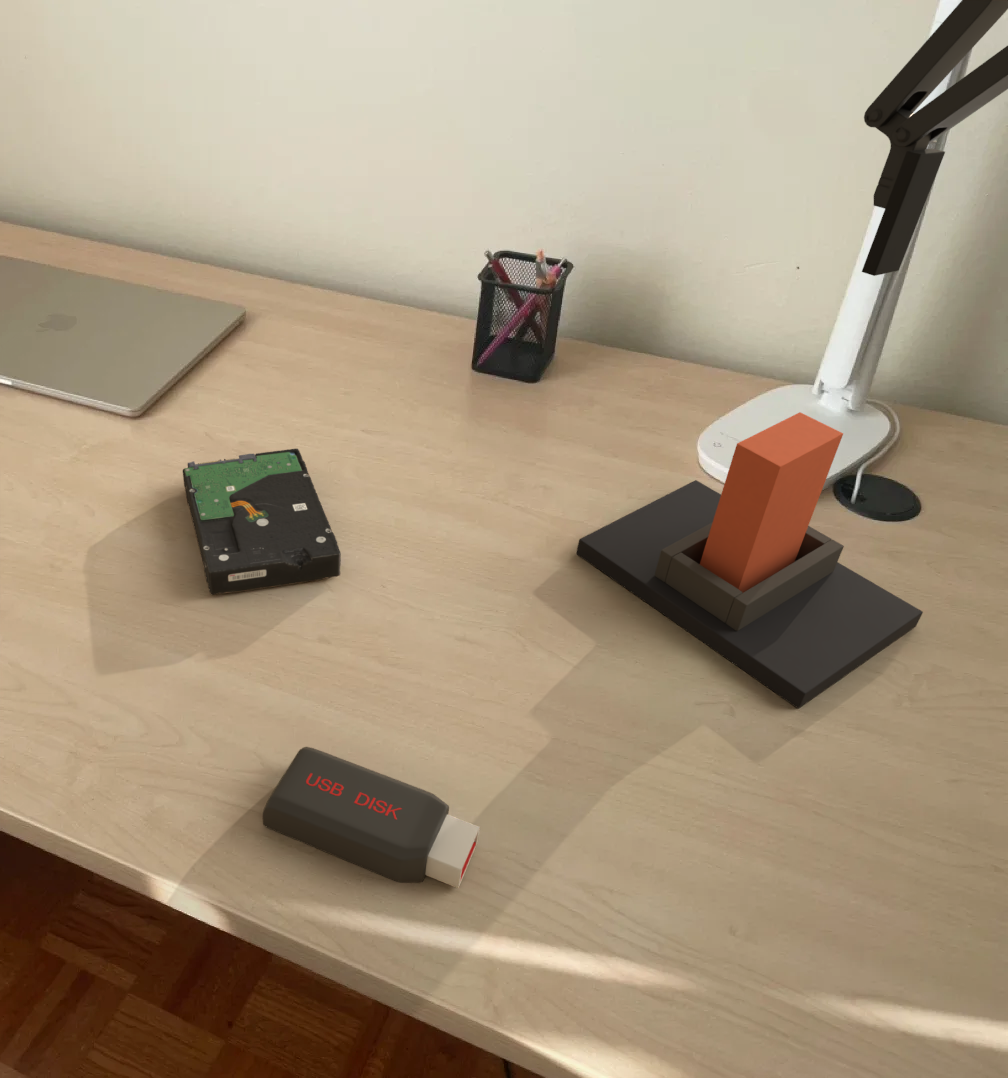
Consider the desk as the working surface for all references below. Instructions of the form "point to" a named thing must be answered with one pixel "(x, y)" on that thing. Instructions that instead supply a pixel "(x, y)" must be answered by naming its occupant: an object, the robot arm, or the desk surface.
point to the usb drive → (370, 820)
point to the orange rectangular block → (769, 500)
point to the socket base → (752, 596)
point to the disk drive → (259, 522)
